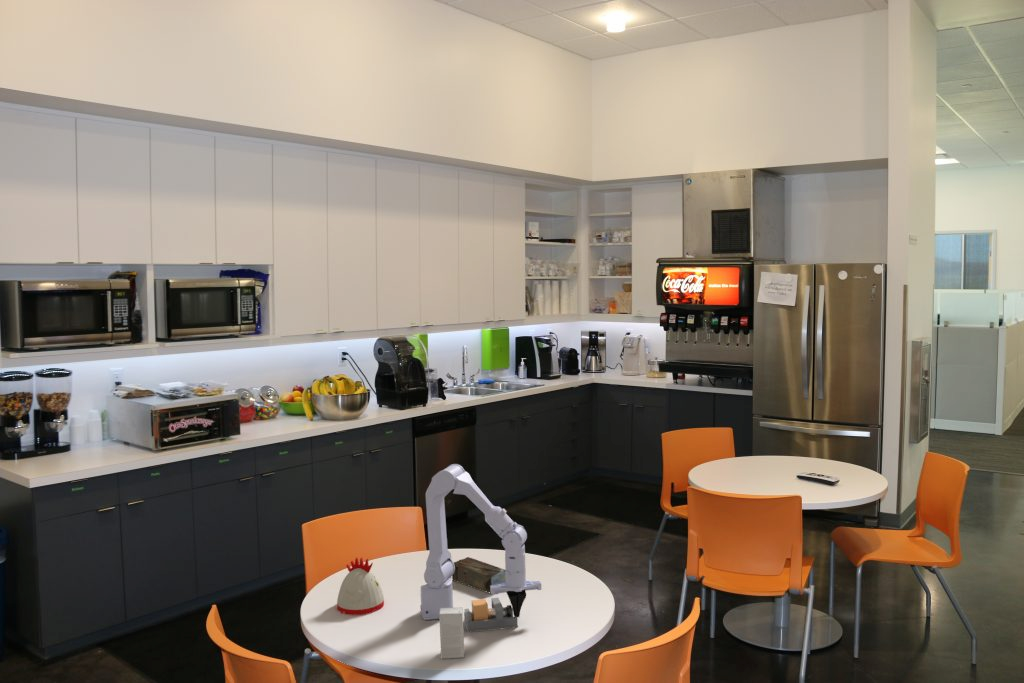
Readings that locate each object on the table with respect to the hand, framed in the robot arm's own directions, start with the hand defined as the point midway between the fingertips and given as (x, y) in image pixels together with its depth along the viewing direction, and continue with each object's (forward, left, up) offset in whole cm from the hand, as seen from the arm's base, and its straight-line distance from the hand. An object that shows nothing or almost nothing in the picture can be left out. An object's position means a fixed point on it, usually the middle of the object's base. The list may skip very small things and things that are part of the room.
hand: (516, 615), depth 241 cm
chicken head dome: (-43, +23, -2) cm, 49 cm away
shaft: (-5, 0, 0) cm, 5 cm away
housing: (-7, 0, -2) cm, 8 cm away
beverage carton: (-6, +32, -2) cm, 33 cm away
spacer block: (-10, 0, -1) cm, 11 cm away
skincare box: (-20, -17, -2) cm, 27 cm away
